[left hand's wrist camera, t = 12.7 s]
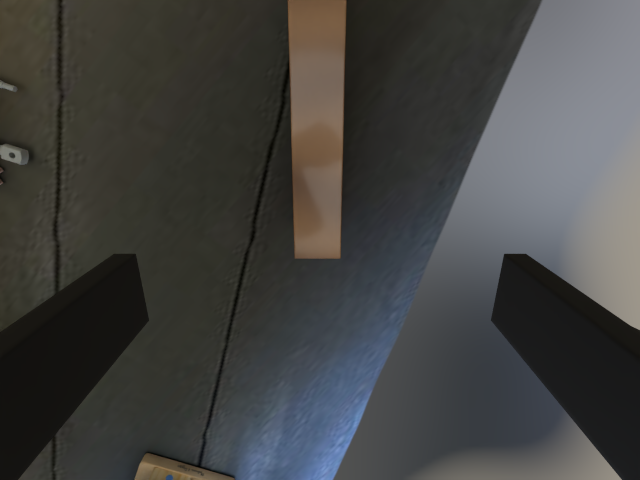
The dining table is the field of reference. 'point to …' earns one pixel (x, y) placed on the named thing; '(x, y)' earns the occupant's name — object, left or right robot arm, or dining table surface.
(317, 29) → the bar
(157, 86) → the dining table surface
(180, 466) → the pounding bench toy
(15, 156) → the clamp
